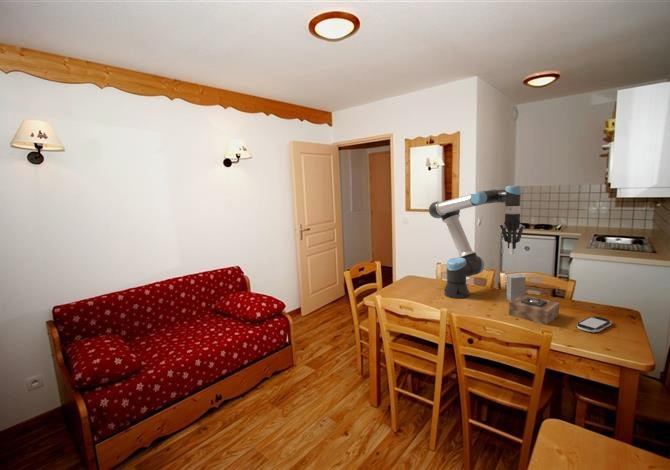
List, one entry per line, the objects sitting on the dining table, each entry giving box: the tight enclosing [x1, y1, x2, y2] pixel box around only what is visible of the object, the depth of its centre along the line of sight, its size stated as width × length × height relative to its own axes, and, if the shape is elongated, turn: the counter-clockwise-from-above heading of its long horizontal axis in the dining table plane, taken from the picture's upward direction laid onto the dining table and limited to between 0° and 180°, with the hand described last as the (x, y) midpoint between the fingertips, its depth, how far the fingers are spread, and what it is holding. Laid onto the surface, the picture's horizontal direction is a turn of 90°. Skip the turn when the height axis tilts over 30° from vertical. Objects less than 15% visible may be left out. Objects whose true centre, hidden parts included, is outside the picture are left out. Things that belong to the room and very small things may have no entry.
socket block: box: [508, 294, 560, 326], centre depth 168 cm, size 18×16×8 cm
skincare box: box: [506, 273, 526, 302], centre depth 189 cm, size 8×7×16 cm
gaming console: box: [575, 315, 613, 334], centre depth 153 cm, size 19×9×2 cm, turn 119°
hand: (511, 254), depth 183 cm, fingers closed
